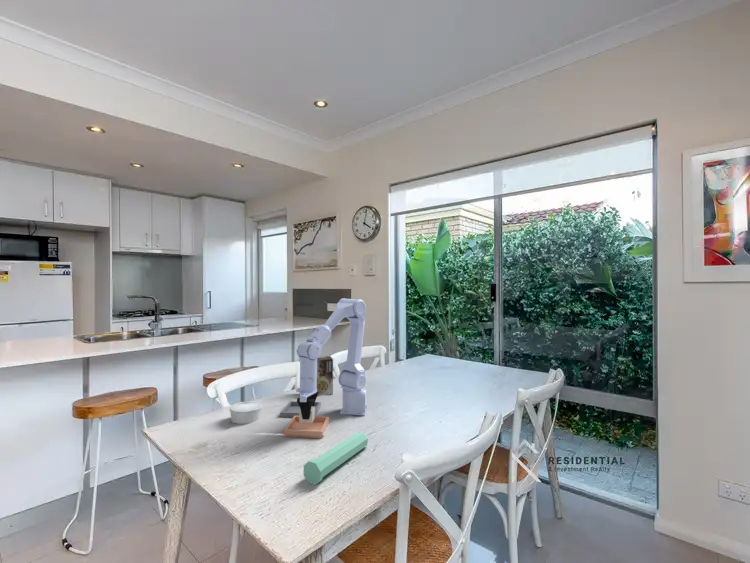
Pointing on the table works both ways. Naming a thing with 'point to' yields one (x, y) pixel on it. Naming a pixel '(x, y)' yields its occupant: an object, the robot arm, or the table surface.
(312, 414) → the white cube
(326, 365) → the coffee box
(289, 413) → the grey tray
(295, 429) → the terracotta tray
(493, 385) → the table surface
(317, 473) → the mint green octagonal prism
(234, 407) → the ramekin
